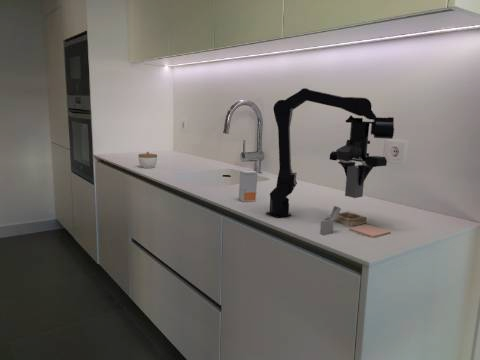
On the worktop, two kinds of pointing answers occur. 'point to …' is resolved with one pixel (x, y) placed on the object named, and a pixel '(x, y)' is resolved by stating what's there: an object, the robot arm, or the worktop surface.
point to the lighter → (329, 221)
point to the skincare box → (247, 186)
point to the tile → (369, 231)
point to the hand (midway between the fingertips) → (354, 184)
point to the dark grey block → (353, 182)
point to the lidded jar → (147, 160)
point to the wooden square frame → (351, 219)
